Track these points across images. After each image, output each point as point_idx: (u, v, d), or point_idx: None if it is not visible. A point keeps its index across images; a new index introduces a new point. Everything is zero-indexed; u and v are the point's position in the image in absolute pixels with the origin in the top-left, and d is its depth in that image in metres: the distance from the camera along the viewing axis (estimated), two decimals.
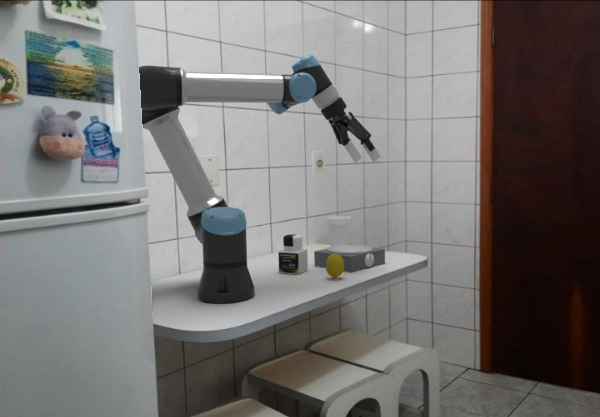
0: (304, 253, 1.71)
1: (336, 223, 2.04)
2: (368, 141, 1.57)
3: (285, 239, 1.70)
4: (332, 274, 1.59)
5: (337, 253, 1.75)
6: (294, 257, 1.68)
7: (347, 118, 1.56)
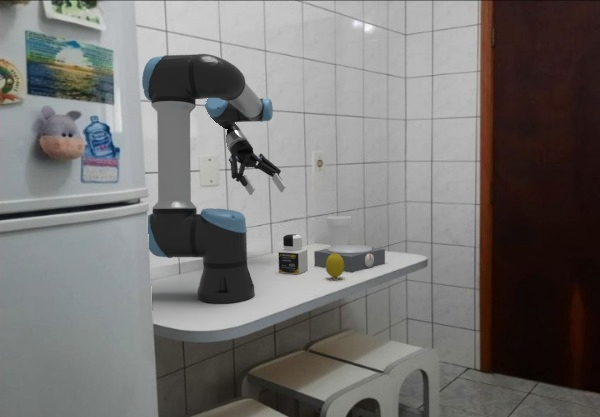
0: (304, 253, 1.71)
1: (336, 223, 2.04)
2: None
3: (285, 239, 1.70)
4: (332, 274, 1.59)
5: (337, 253, 1.75)
6: (294, 257, 1.68)
7: None
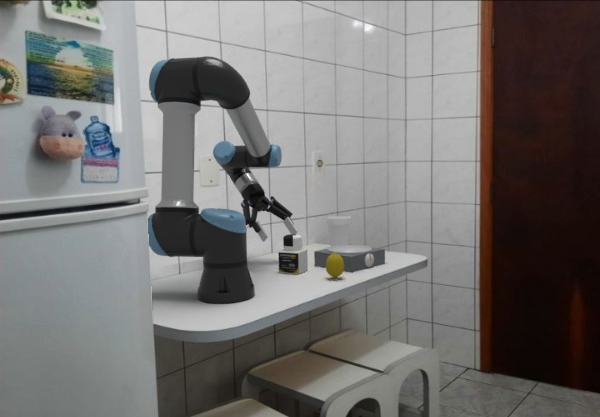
0: (304, 253, 1.71)
1: (336, 223, 2.04)
2: None
3: (285, 239, 1.70)
4: (332, 274, 1.59)
5: (337, 253, 1.75)
6: (294, 257, 1.68)
7: None
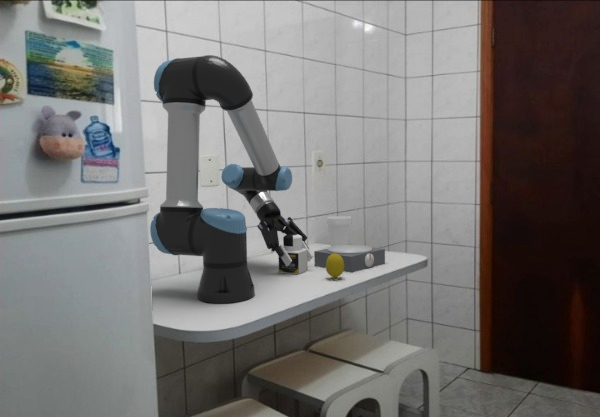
0: (304, 253, 1.71)
1: (336, 223, 2.04)
2: None
3: (285, 239, 1.70)
4: (332, 274, 1.59)
5: (337, 253, 1.75)
6: (294, 257, 1.68)
7: None
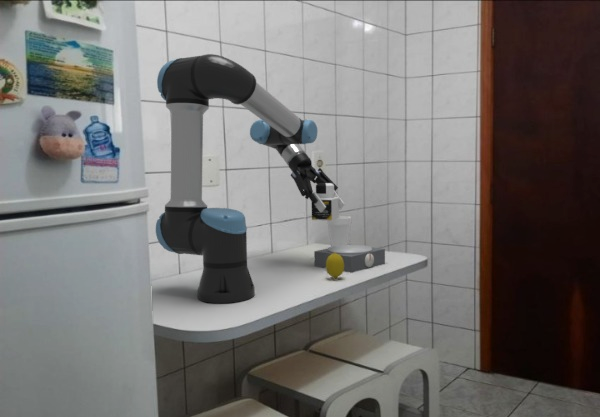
0: (336, 201, 1.77)
1: (336, 223, 2.04)
2: None
3: (318, 187, 1.75)
4: (332, 274, 1.59)
5: (337, 253, 1.75)
6: (327, 204, 1.74)
7: None
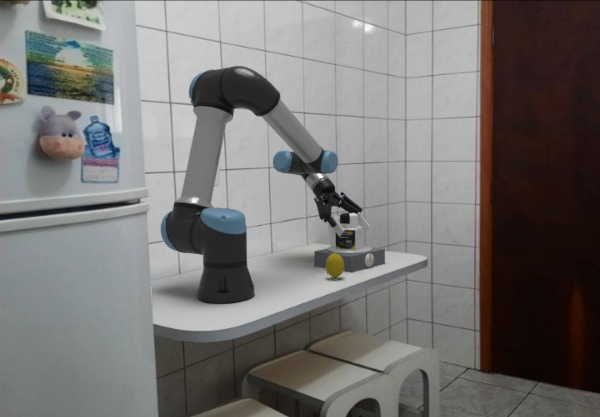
0: (359, 231, 1.80)
1: None
2: None
3: (342, 217, 1.78)
4: (332, 274, 1.59)
5: (337, 253, 1.75)
6: (350, 234, 1.77)
7: None
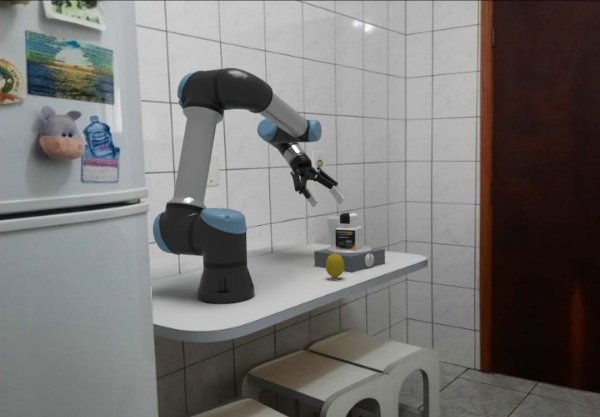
0: (359, 231, 1.80)
1: (336, 223, 2.04)
2: None
3: (342, 217, 1.78)
4: (332, 274, 1.59)
5: (337, 253, 1.75)
6: (350, 234, 1.77)
7: None
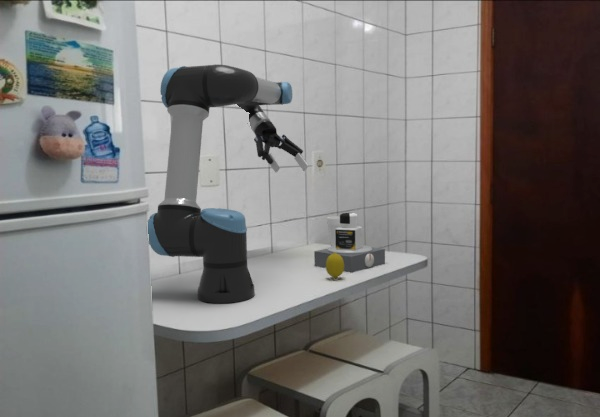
0: (359, 231, 1.80)
1: (336, 223, 2.04)
2: None
3: (342, 217, 1.78)
4: (332, 274, 1.59)
5: (337, 253, 1.75)
6: (350, 234, 1.77)
7: None
